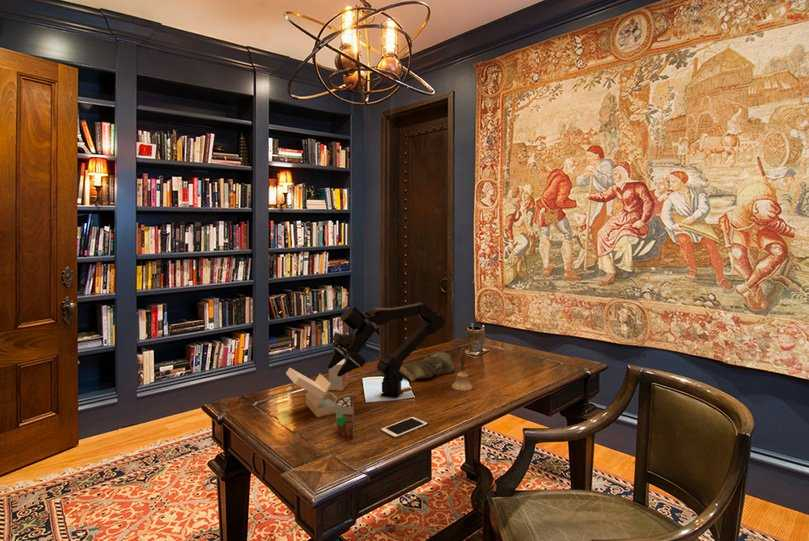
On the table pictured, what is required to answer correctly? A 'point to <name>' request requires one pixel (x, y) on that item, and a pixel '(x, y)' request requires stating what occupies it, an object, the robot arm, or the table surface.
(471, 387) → the hand bell
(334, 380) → the small box
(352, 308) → the robot arm
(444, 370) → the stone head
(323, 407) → the carton
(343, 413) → the food container
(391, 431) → the cell phone
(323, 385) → the flap
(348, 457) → the table surface
